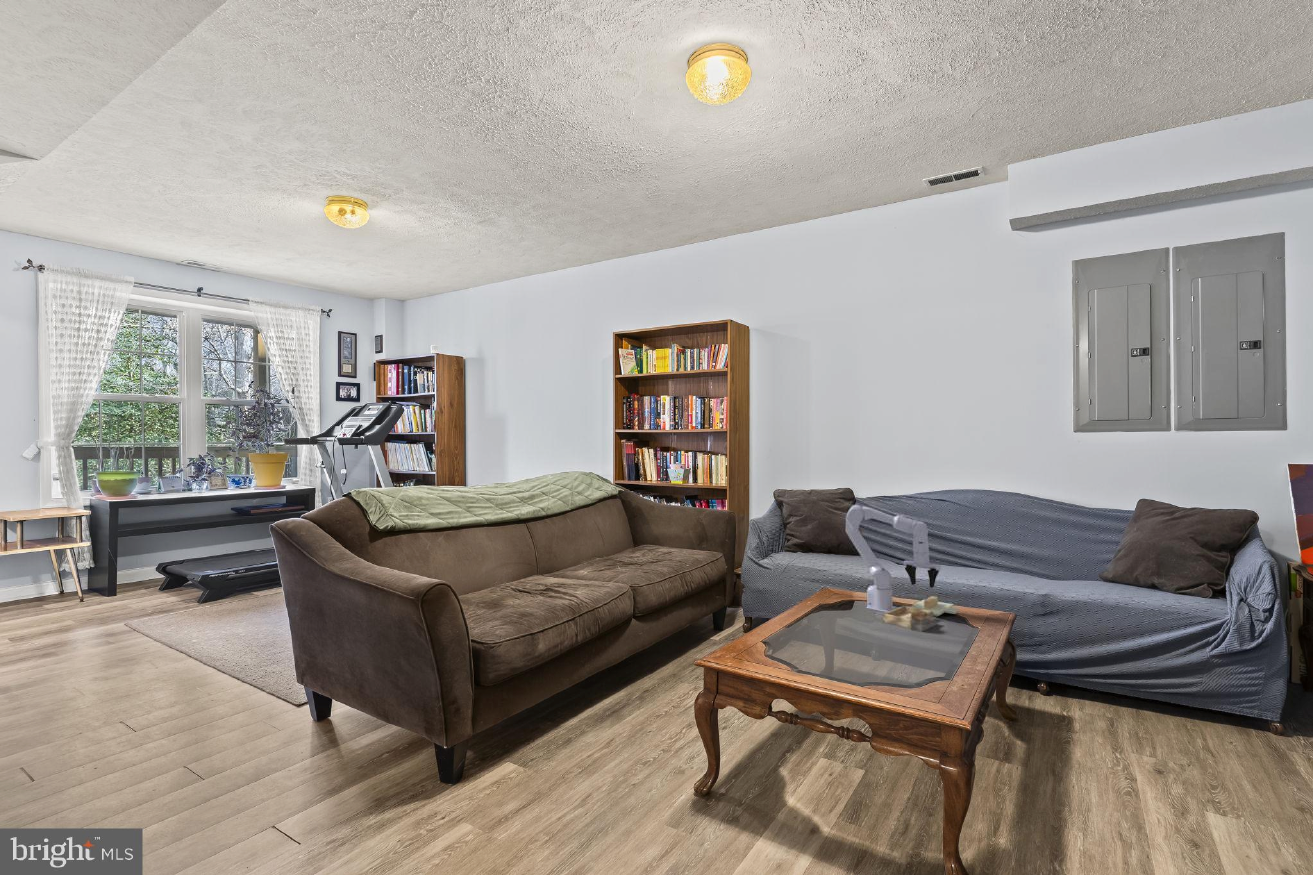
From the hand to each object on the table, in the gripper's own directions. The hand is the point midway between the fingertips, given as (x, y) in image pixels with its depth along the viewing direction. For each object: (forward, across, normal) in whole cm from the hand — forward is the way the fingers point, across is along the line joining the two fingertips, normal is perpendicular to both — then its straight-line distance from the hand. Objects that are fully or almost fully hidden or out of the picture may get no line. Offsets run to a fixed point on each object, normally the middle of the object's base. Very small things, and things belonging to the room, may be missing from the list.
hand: (922, 585), depth 253 cm
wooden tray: (+10, +3, -16) cm, 19 cm away
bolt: (+6, +9, -22) cm, 25 cm away
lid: (+11, +3, +3) cm, 12 cm away
